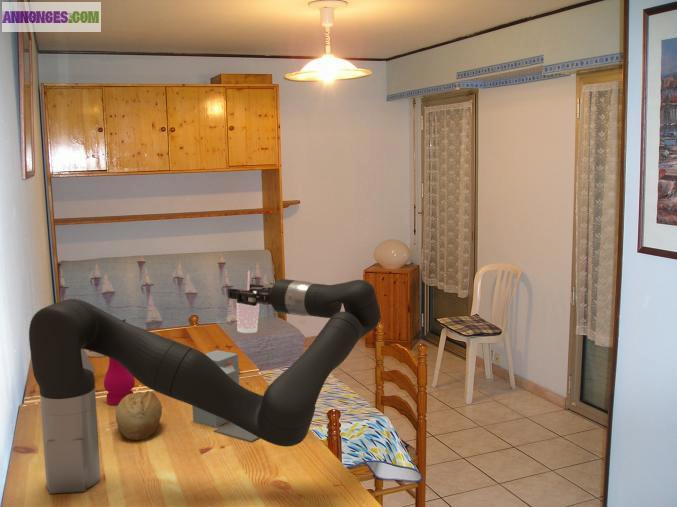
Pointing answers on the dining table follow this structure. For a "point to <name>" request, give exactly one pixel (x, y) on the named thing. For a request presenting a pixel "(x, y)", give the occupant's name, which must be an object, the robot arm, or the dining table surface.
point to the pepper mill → (117, 382)
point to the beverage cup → (247, 315)
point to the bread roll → (138, 415)
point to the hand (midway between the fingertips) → (239, 290)
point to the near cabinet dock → (216, 421)
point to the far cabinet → (225, 360)
